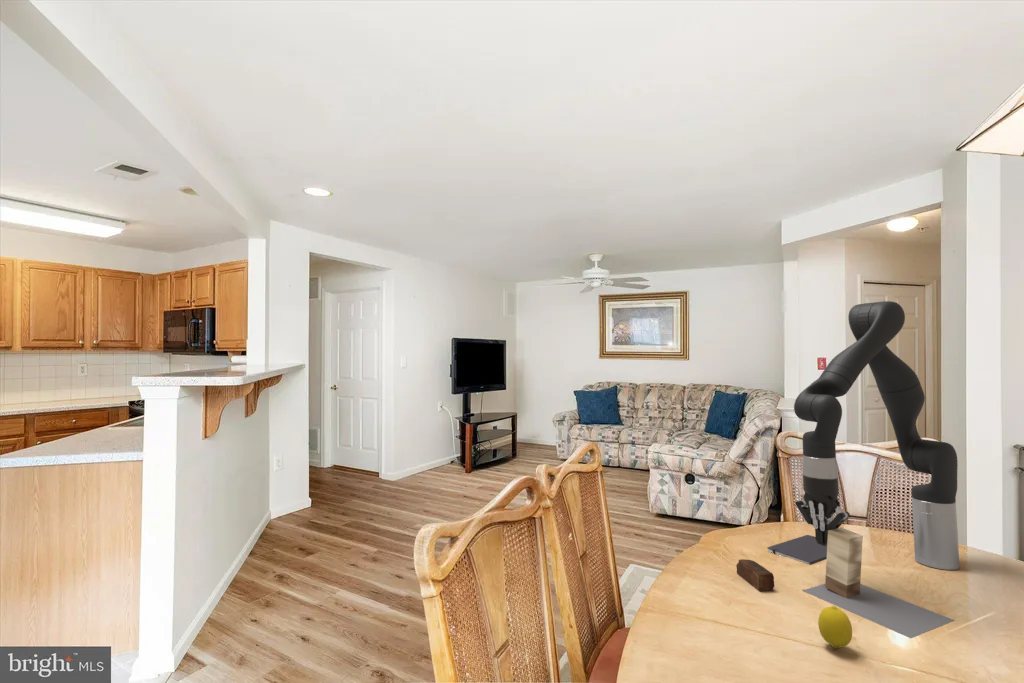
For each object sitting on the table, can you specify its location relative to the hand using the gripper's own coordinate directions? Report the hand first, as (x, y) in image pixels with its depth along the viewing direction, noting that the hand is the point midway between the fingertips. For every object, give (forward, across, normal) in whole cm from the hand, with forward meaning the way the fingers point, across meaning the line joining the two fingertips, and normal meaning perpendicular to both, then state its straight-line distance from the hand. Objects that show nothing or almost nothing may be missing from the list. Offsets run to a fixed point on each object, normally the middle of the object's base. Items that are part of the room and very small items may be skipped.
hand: (822, 544), depth 123 cm
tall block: (+10, -4, 0) cm, 10 cm away
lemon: (+10, -19, +24) cm, 32 cm away
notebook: (+11, +17, -18) cm, 27 cm away
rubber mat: (+10, -11, 0) cm, 15 cm away
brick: (+10, +8, +14) cm, 19 cm away
